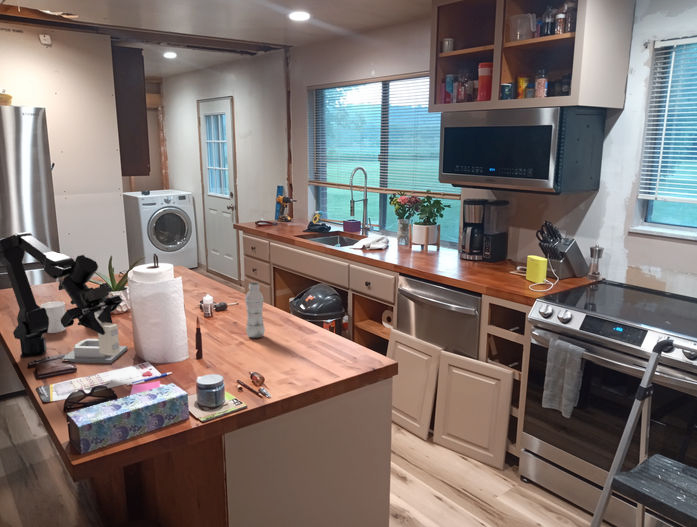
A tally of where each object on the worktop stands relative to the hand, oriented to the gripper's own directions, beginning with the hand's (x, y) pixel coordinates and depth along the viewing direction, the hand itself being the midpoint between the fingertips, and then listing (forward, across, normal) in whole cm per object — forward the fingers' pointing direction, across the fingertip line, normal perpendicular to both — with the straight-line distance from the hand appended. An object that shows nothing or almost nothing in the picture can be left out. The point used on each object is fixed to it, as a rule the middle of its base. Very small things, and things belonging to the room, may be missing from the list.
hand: (108, 332), depth 166 cm
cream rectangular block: (+4, 0, +5) cm, 7 cm away
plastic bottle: (+24, +47, -5) cm, 53 cm away
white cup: (-25, +19, +45) cm, 55 cm away
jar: (-19, +30, +39) cm, 53 cm away
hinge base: (-2, +8, +21) cm, 23 cm away
